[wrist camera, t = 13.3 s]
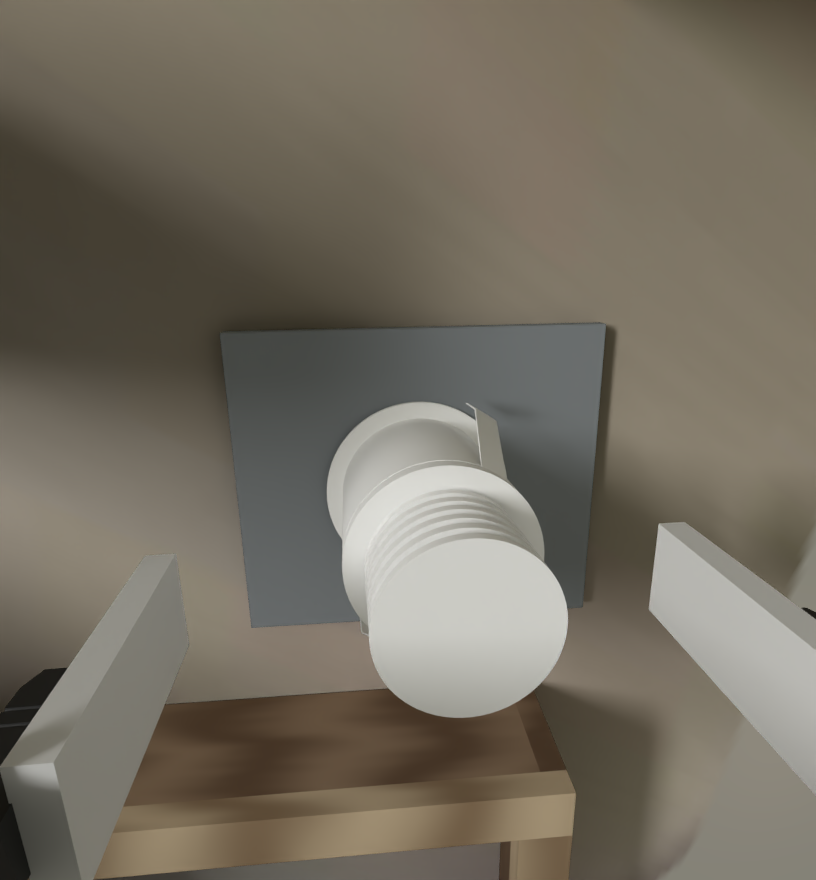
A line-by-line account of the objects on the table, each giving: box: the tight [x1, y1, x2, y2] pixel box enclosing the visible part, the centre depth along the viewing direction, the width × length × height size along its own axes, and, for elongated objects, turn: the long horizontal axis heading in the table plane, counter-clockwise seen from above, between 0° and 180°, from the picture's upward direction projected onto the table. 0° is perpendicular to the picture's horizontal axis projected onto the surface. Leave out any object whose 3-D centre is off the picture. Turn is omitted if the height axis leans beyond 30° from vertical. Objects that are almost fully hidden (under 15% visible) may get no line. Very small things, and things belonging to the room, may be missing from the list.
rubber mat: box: [220, 322, 606, 628], centre depth 23 cm, size 14×12×1 cm
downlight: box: [327, 401, 568, 718], centre depth 18 cm, size 8×7×10 cm
